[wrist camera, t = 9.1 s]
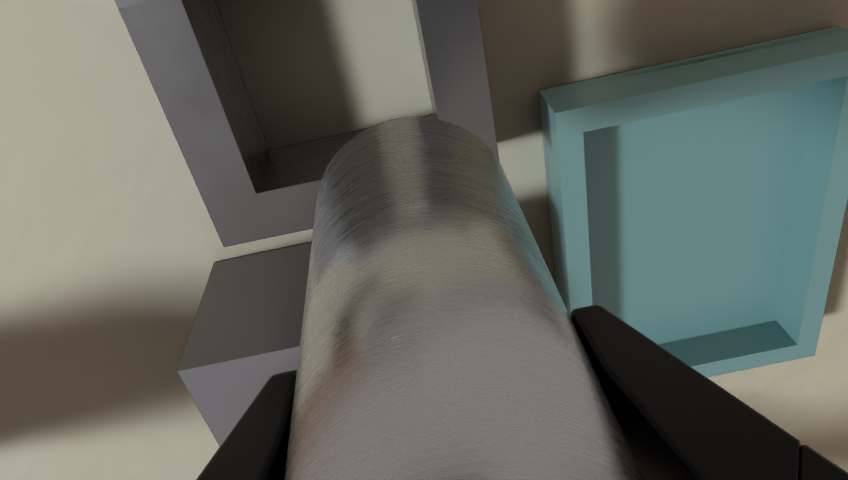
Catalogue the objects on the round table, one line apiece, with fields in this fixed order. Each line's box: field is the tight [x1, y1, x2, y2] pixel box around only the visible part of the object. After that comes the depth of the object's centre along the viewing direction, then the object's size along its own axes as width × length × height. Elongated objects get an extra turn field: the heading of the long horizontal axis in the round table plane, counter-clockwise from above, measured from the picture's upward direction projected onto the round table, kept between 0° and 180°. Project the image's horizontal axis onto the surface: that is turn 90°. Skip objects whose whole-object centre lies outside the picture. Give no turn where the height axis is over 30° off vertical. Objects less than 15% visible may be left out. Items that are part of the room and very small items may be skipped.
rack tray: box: [539, 26, 848, 377], centre depth 23 cm, size 13×10×2 cm
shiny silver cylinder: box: [284, 117, 644, 480], centre depth 9 cm, size 4×4×9 cm
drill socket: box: [115, 0, 499, 247], centre depth 18 cm, size 8×8×3 cm
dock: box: [177, 242, 312, 446], centre depth 22 cm, size 7×8×6 cm
